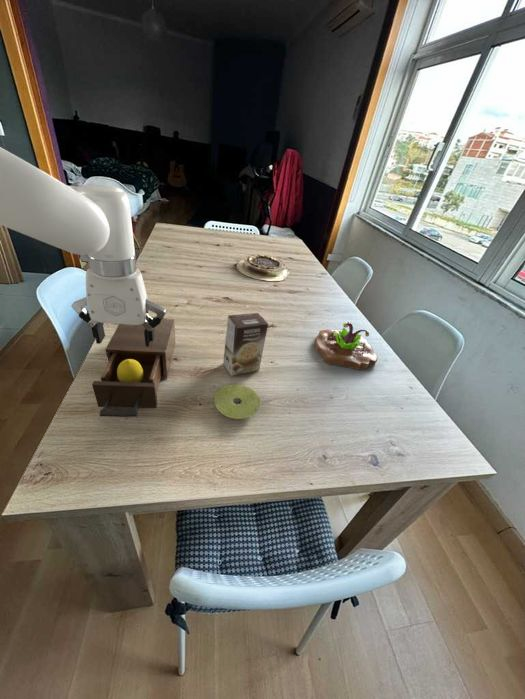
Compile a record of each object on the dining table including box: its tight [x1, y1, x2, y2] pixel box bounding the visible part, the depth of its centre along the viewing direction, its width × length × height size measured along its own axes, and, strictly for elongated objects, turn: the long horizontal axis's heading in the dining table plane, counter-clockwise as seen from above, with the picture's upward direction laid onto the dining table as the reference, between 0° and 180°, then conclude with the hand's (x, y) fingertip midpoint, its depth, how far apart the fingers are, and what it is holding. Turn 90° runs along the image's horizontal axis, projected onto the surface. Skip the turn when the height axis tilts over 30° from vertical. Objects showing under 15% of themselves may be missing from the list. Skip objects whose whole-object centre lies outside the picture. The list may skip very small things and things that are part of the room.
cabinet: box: [104, 317, 176, 379], centre depth 79 cm, size 16×14×9 cm
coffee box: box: [222, 312, 269, 377], centre depth 80 cm, size 9×6×16 cm
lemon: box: [117, 359, 143, 383], centre depth 68 cm, size 6×6×8 cm
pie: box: [236, 253, 292, 282], centre depth 147 cm, size 28×27×5 cm
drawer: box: [91, 353, 163, 418], centre depth 68 cm, size 20×13×7 cm, turn 6°
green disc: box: [213, 384, 261, 420], centre depth 72 cm, size 11×11×2 cm
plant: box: [314, 321, 378, 371], centre depth 96 cm, size 20×20×11 cm
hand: (125, 341), depth 63 cm, fingers open, 9 cm apart
